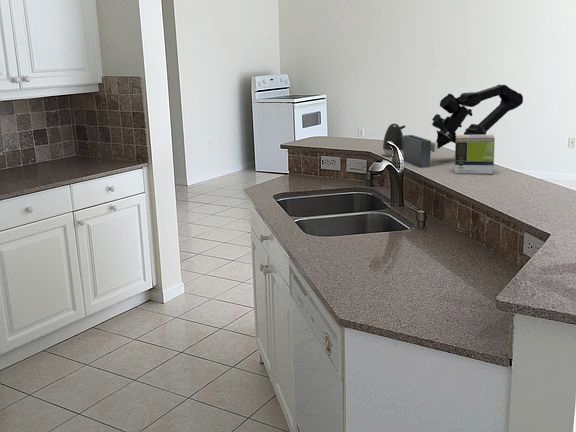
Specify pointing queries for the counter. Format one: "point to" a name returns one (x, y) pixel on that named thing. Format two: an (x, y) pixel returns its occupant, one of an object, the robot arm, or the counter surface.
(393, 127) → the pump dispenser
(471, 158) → the tea box
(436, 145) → the ivory button
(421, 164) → the button panel
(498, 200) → the counter surface
